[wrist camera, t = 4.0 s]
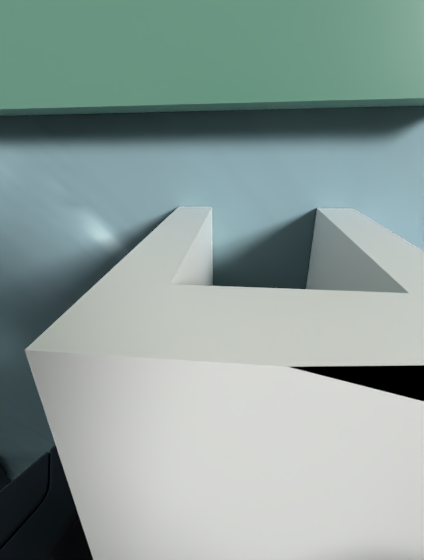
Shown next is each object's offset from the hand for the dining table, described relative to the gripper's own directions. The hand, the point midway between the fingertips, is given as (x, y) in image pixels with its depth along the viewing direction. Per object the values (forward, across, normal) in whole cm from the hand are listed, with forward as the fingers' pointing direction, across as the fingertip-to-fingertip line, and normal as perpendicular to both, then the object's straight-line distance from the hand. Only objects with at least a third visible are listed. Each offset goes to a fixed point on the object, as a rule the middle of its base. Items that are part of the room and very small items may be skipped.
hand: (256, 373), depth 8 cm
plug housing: (+1, 0, 0) cm, 1 cm away
